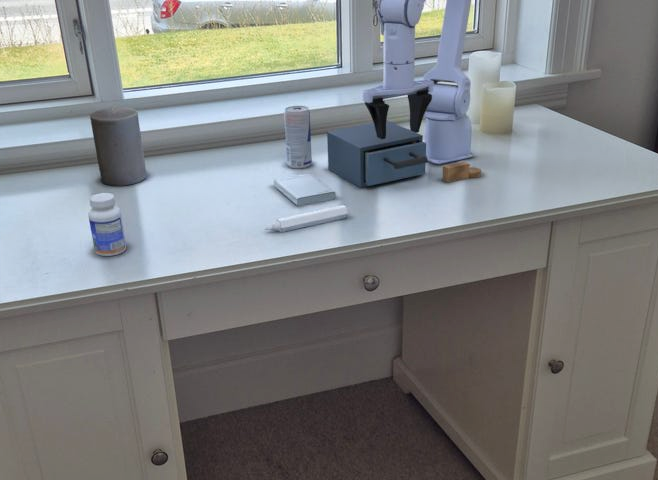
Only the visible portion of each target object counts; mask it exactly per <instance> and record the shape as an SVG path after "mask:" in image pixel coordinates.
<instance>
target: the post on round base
mask: <svg viewBox="0 0 658 480" xmlns="http://www.w3.org/2000/svg"><path fill="white" fill-rule="evenodd" d="M441 177H442V179H441V180H442V182H445V183H453V182H458V181H461V180H465V179H469V178H471V179H476V178H480V177H482V169H481V168H479V167H475V166H473V167H470V162H467V161H465V160H464V161H459V162H454V163H449V164H445V165H442V175H441Z"/></svg>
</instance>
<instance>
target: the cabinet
mask: <svg viewBox="0 0 658 480" xmlns="http://www.w3.org/2000/svg"><path fill="white" fill-rule="evenodd" d="M326 135H327V136H326V137H327V138H326V140H327V143H326V144H327V167H328V171H330V172H331V173H334V174H335V175H337V176H339V177H341V178H342V179H344V180H345V181H348V182H349V183H351V184H353V185H355V186H357V187H359V189H360V188H367V187H369V186H368V185H366V180H364V151H367V150H372V149H377V148H382V147H387V146H392V145H397V144H402V143H407V142H412V141H416V143H419V142H424V141H423V140H424V139H423V138H424V136H423V135H422V134H421V133H419V132H417V133H416V132H413V131H411V130H410V128H407V127H404V126H402V125H399V124H397V123H394V122H393V121H390V120H388V119H387V120H386V138H385V139H380V138H378V137H377V134H376V130H375V126H374V122H370V123H366V124H365V123H364V124H360V125H355V126H354V125H353V126H349V127H344V128H338V129H334V130H327V131H326Z"/></svg>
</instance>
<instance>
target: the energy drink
mask: <svg viewBox="0 0 658 480" xmlns="http://www.w3.org/2000/svg"><path fill="white" fill-rule="evenodd" d="M283 115H284V117H283V118H284V131H285V132H284V133H285V134H284V135H285V136H284V137H285V153H286V165H287V166H288V167H289V168H291V169H305V168H309V167H310V166H311V165H312V164H313V161H312V160H313V158H312V156H313V155H312V137H311V135H312V134H311V112H310V109H309V107H308V106H306V105H291V106H288V107H285V108H284V113H283Z"/></svg>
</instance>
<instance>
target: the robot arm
mask: <svg viewBox="0 0 658 480" xmlns="http://www.w3.org/2000/svg"><path fill="white" fill-rule="evenodd" d="M426 1H427V0H379V1H378V4H377V9H376V15H377V20H378V22H379V27H380V30H379V31H380V35H382V36H383V44H382V45H383V47H382V48H383V52H382V53H383V54H382V56H383V64H382V66H383V67H382V69H383V72H382V73H383V76H382V77H383V78H382V79H383V81H382V82H383V84H381V85H378V86H374V87H372V88H369V89H363V90H362V101H363V102H364V105H365V107H366V108H367V110H368V112H369V115H370V117H371V119H372V123H374V126H375V130H376V134H377V137H378V138H380V139H385V138H386V120H387V121H388V119H387V118H388V113H389V109H390V105H389V104H388V103H386V101H385V100H387V99H392V98H399V97H404V96H405V97H406V96H407V100H408V106H409V130H411V131H413V132H416V133H420V130H421V126H422V122H423V118H425V140H424V142H425V143H426V156H427V158H428V162H430V163H432V164H434V165H441V164H442V165H443V164H447V163H451V162H456V161H460V160H465V159H470V158H473V153H472V154H471V148H472V131H473V127H472V121H471V118H470V117H469V115H467V112H468V110H469V108H470V104H471V87H472V86H471V84H472V83H471V79H470V78H469V77H468V75H467V74H466V73H465V72H464V71H463V70H462V69H461V63H462V59H463V52H464V46H465V41H466V34H467V30H468V24H469V18H470V17H469V16H470V12H471V5H472V0H446V3H445V9H444V15H443V21H442V27H441V32H440V40H439V46H438V52H437V58H436V63H435V66H434V67H433V68H431V69H430V70H428V71H427V72H426V73H424V75H423V77H422V79H421V80H420V79H419V80H415V54H416V51H415V50H416V25H418V24H419V23H420V20H421V17H422V13H423V10H424V7H425V3H426Z"/></svg>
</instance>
